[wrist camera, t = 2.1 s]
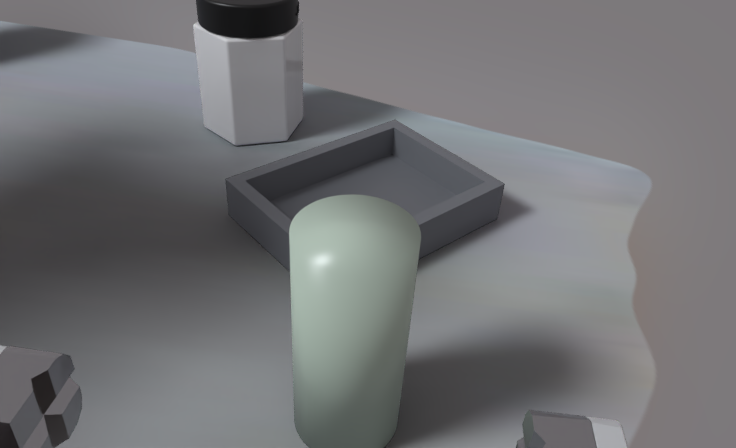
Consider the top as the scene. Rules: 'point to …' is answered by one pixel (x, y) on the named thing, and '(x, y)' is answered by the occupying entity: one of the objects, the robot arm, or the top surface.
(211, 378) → the top surface
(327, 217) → the pale green cylinder
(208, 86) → the jar
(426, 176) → the tray
